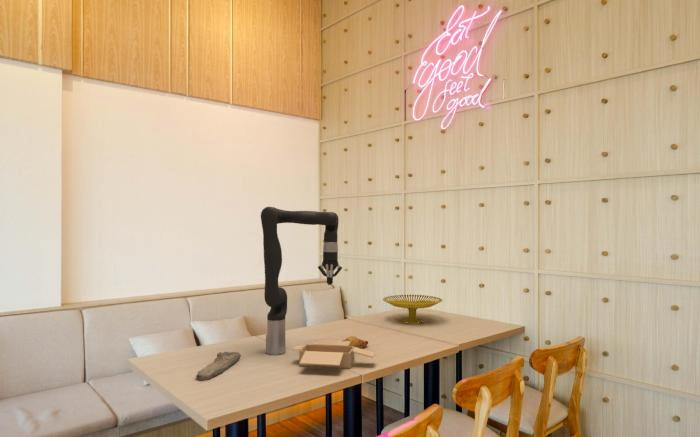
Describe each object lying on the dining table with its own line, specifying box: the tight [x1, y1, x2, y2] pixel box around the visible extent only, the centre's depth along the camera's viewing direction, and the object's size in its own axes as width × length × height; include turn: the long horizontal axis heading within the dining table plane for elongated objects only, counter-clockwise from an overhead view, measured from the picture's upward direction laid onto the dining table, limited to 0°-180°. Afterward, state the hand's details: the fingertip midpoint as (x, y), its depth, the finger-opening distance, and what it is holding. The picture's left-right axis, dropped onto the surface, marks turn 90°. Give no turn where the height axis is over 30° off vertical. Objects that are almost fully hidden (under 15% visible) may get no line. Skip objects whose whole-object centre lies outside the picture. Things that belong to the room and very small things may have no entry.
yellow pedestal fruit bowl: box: [382, 294, 443, 324], centre depth 306 cm, size 40×40×15 cm
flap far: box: [352, 347, 376, 359], centre depth 212 cm, size 1×7×10 cm
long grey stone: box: [195, 351, 242, 382], centre depth 209 cm, size 35×5×10 cm
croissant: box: [341, 335, 369, 349], centre depth 240 cm, size 21×10×8 cm, turn 117°
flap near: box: [300, 351, 343, 366], centre depth 204 cm, size 1×18×10 cm
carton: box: [292, 339, 355, 370], centre depth 219 cm, size 28×20×7 cm
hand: (329, 284), depth 232 cm, fingers closed
